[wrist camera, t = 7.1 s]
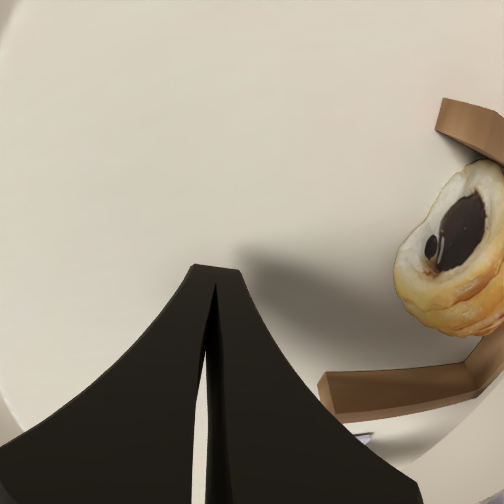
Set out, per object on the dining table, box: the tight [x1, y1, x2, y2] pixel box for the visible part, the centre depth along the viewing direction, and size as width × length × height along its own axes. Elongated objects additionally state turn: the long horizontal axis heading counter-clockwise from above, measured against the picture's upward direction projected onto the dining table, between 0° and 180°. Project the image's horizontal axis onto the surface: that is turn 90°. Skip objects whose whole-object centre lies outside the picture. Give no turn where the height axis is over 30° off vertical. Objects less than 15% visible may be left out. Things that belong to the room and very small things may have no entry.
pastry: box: [393, 159, 504, 338], centre depth 9 cm, size 9×7×4 cm
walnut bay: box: [317, 98, 504, 424], centre depth 11 cm, size 14×12×2 cm
